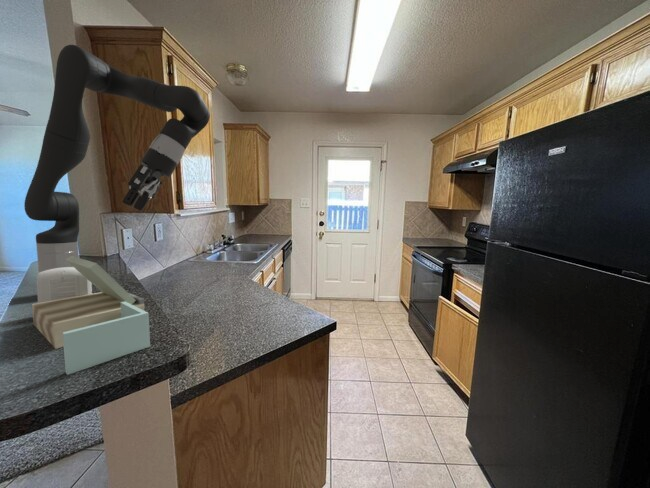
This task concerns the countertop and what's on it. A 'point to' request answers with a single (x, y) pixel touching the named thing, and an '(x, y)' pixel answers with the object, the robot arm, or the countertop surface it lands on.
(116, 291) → the sage green flat slab
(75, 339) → the l-shaped corner panel
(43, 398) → the countertop surface
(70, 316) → the block
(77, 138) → the robot arm
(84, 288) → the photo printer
